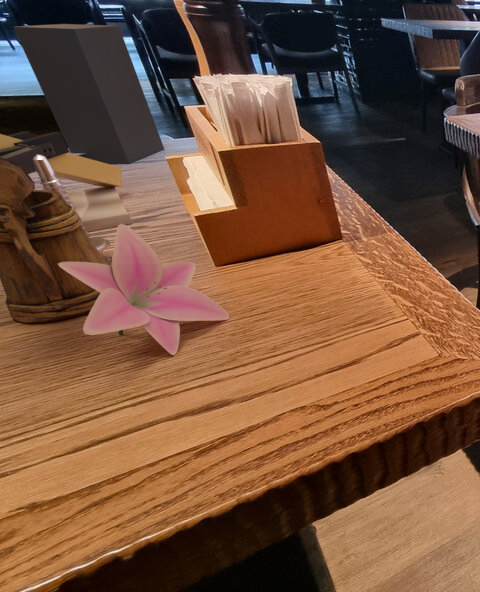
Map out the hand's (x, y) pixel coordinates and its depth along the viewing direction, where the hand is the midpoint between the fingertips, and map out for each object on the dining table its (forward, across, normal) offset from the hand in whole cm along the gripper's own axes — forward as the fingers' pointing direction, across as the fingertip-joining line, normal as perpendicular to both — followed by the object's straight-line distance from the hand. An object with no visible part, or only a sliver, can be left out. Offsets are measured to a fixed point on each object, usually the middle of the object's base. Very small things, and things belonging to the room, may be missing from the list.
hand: (46, 142), depth 71 cm
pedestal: (+32, -14, -10) cm, 36 cm away
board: (-1, +2, -10) cm, 10 cm away
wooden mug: (-29, +18, -10) cm, 35 cm away
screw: (-17, +12, -10) cm, 24 cm away
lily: (-34, +30, -10) cm, 47 cm away
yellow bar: (-1, 0, -4) cm, 4 cm away
